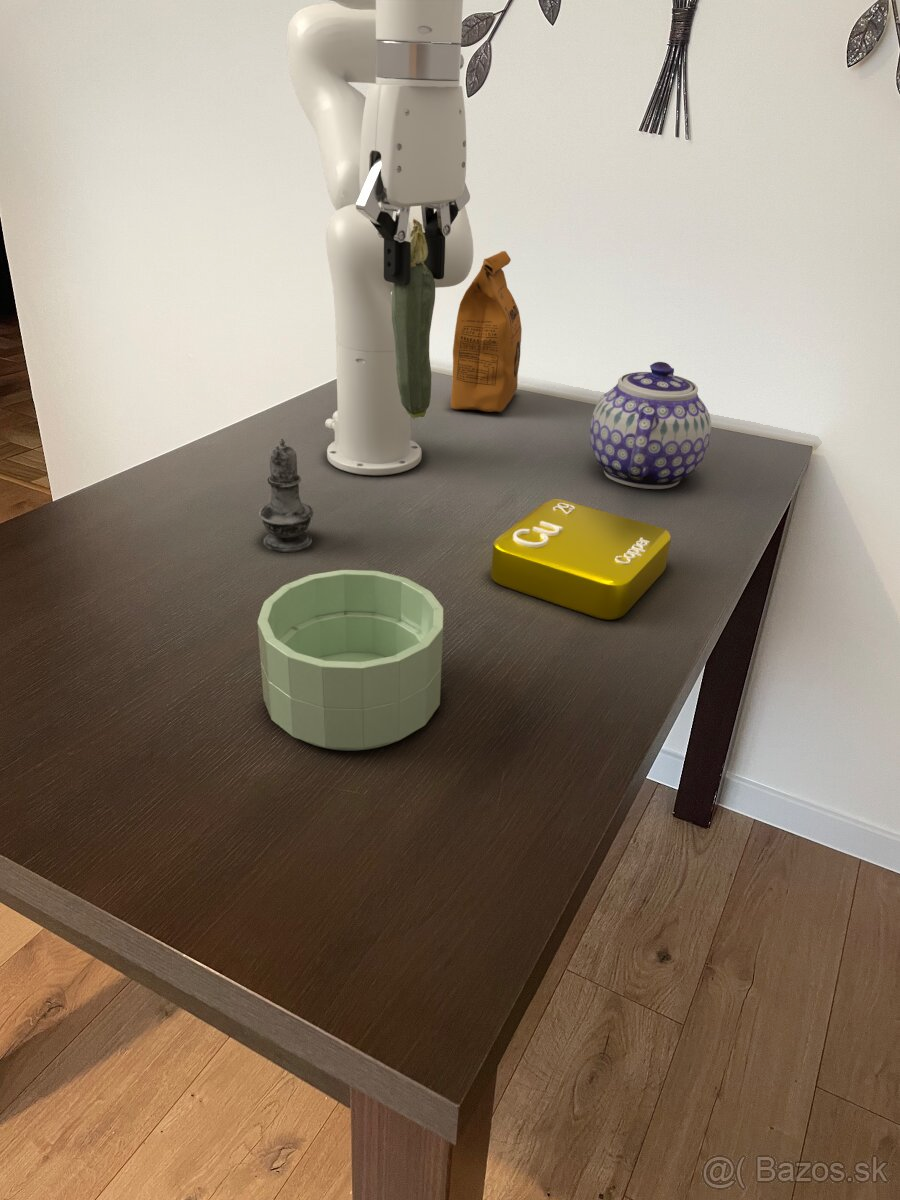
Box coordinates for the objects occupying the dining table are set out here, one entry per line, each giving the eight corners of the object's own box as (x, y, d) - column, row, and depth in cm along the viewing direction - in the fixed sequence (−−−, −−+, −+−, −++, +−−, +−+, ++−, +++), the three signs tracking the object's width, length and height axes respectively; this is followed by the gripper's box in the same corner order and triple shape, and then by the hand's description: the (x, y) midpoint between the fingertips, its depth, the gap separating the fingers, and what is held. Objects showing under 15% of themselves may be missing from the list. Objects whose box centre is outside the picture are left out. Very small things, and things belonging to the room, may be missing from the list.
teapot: (687, 523, 110) (711, 402, 102) (563, 499, 114) (576, 381, 106) (712, 451, 130) (733, 345, 123) (605, 433, 135) (619, 330, 127)
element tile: (616, 626, 89) (623, 583, 87) (483, 581, 96) (486, 540, 94) (670, 565, 101) (678, 526, 98) (548, 529, 107) (552, 491, 105)
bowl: (231, 695, 78) (222, 609, 73) (363, 632, 87) (362, 553, 82) (340, 783, 69) (338, 692, 65) (475, 703, 78) (480, 618, 74)
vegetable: (425, 429, 97) (432, 226, 86) (385, 424, 97) (387, 222, 87) (434, 415, 100) (441, 219, 90) (396, 411, 101) (398, 216, 91)
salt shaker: (324, 536, 103) (321, 435, 97) (295, 558, 99) (290, 453, 92) (280, 524, 105) (274, 424, 99) (250, 545, 101) (241, 442, 94)
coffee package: (526, 396, 148) (538, 252, 136) (503, 420, 138) (514, 267, 126) (468, 387, 151) (475, 245, 139) (441, 410, 141) (446, 259, 129)
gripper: (453, 66, 89) (446, 263, 99) (317, 63, 79) (323, 283, 88) (511, 70, 85) (498, 276, 94) (375, 67, 74) (375, 299, 84)
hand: (414, 277), depth 91 cm, fingers closed on vegetable, 3 cm apart
